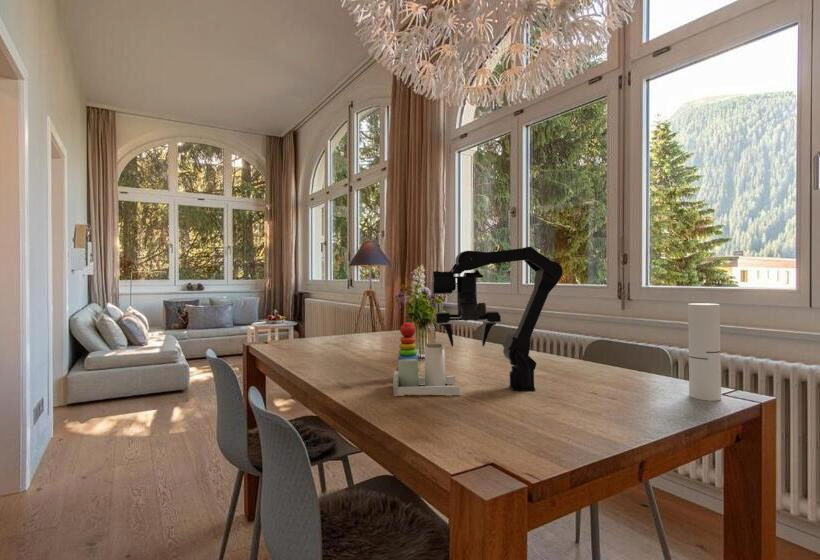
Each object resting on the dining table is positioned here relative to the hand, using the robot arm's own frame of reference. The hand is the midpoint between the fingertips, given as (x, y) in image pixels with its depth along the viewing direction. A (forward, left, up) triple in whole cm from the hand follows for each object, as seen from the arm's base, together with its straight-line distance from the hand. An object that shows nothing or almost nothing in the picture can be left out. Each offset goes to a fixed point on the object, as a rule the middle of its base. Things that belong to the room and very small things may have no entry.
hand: (467, 346), depth 132 cm
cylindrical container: (-63, +4, -13) cm, 65 cm away
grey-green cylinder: (+18, +1, -13) cm, 22 cm away
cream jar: (+10, 0, -13) cm, 16 cm away
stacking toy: (+20, -14, -13) cm, 28 cm away
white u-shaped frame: (+13, +1, -13) cm, 18 cm away
